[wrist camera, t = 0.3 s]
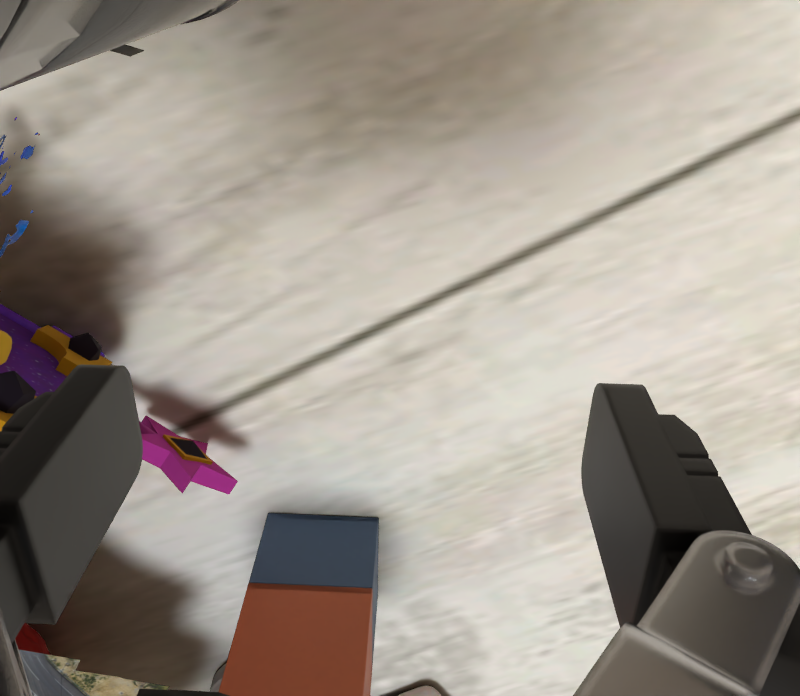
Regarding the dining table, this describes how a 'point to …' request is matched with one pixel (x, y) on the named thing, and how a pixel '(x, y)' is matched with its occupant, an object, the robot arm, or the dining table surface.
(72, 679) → the aerial photo print
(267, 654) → the top tub
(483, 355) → the dining table surface
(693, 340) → the dining table surface
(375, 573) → the bottom tub
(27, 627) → the tomato
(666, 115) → the dining table surface
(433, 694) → the smartphone
